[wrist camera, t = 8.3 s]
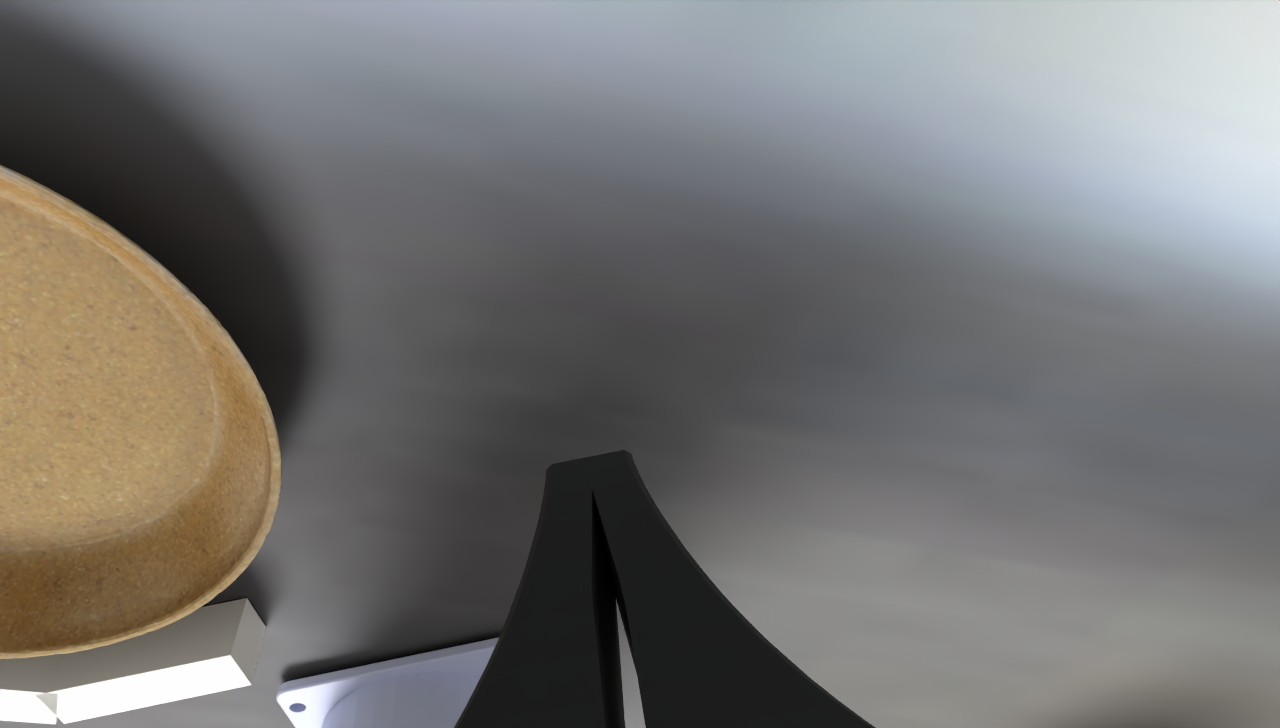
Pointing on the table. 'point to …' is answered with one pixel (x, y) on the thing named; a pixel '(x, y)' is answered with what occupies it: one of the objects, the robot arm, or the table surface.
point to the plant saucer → (116, 436)
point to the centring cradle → (137, 668)
